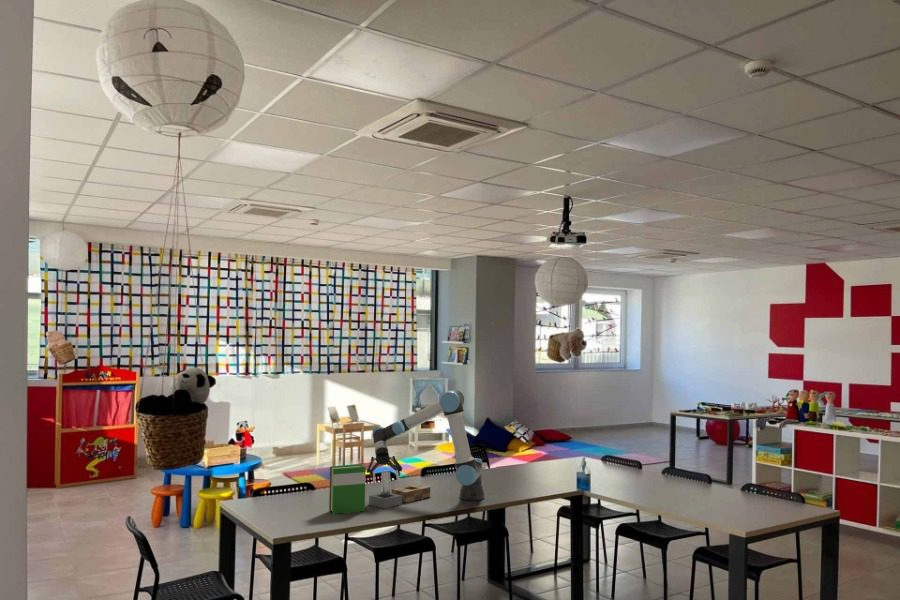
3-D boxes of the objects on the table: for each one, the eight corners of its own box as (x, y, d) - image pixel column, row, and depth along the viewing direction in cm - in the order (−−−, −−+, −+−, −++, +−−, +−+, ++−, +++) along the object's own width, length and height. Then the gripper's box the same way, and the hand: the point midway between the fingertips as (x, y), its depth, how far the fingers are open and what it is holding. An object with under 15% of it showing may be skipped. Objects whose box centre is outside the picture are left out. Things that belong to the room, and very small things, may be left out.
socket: (401, 504, 385) (401, 495, 385) (384, 508, 375) (384, 499, 376) (386, 501, 394) (386, 492, 394) (368, 504, 384) (369, 495, 385)
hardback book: (332, 514, 361) (333, 468, 363) (329, 511, 368) (330, 466, 370) (364, 511, 369) (365, 466, 370) (360, 508, 375) (361, 464, 377)
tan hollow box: (430, 497, 404) (430, 487, 404) (405, 503, 389) (405, 492, 390) (415, 494, 412) (416, 484, 412) (391, 499, 397) (391, 489, 398)
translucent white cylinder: (391, 504, 385) (392, 472, 386) (385, 506, 381) (385, 473, 382) (385, 503, 388) (386, 471, 389) (379, 504, 385) (379, 472, 386)
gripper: (401, 453, 405) (406, 484, 389) (359, 455, 397) (363, 486, 382) (403, 445, 400) (409, 476, 385) (361, 447, 392) (365, 478, 377)
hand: (386, 481), depth 383 cm, fingers open, 13 cm apart
